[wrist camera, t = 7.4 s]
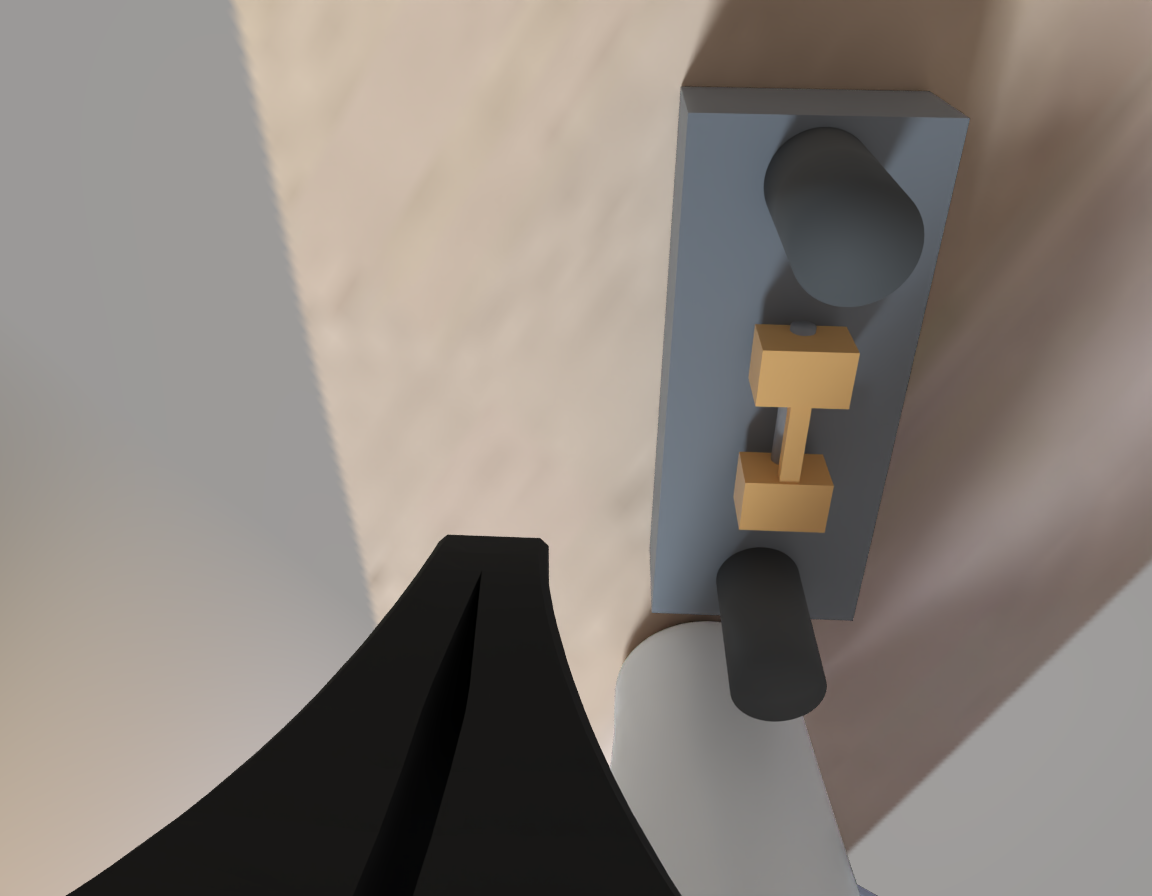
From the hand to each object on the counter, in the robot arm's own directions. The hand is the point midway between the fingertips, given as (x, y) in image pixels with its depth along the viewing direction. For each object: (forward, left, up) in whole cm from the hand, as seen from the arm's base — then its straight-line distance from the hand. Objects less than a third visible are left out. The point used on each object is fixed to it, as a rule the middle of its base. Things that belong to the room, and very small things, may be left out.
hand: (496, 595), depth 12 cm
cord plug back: (-2, -8, -8) cm, 11 cm away
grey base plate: (+2, -5, -10) cm, 12 cm away
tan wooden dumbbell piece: (+2, -5, -8) cm, 9 cm away
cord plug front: (+6, -2, -8) cm, 10 cm away
